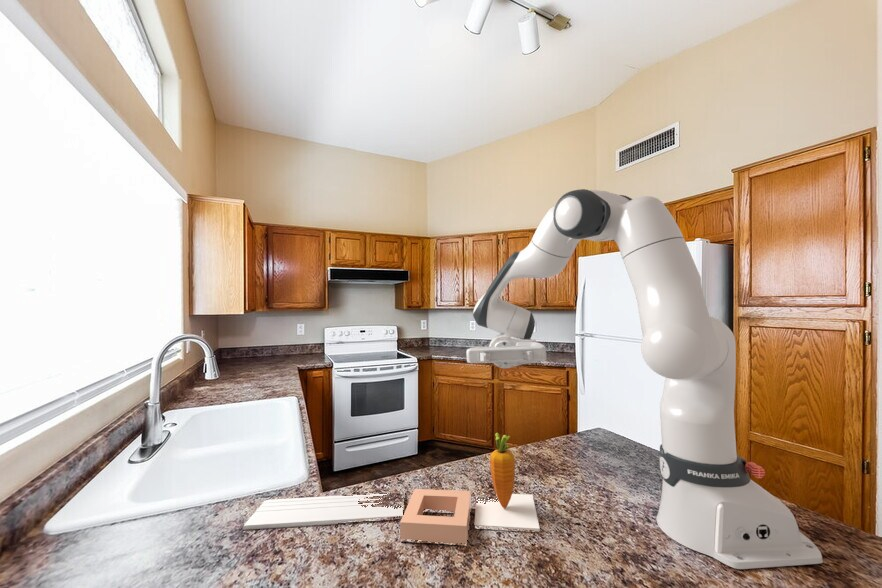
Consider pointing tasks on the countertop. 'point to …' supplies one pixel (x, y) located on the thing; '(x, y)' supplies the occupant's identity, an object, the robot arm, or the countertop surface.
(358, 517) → the baseboard molding
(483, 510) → the plate
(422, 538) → the holder ring
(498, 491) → the carrot
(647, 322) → the robot arm
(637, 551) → the countertop surface
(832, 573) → the countertop surface
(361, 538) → the countertop surface
